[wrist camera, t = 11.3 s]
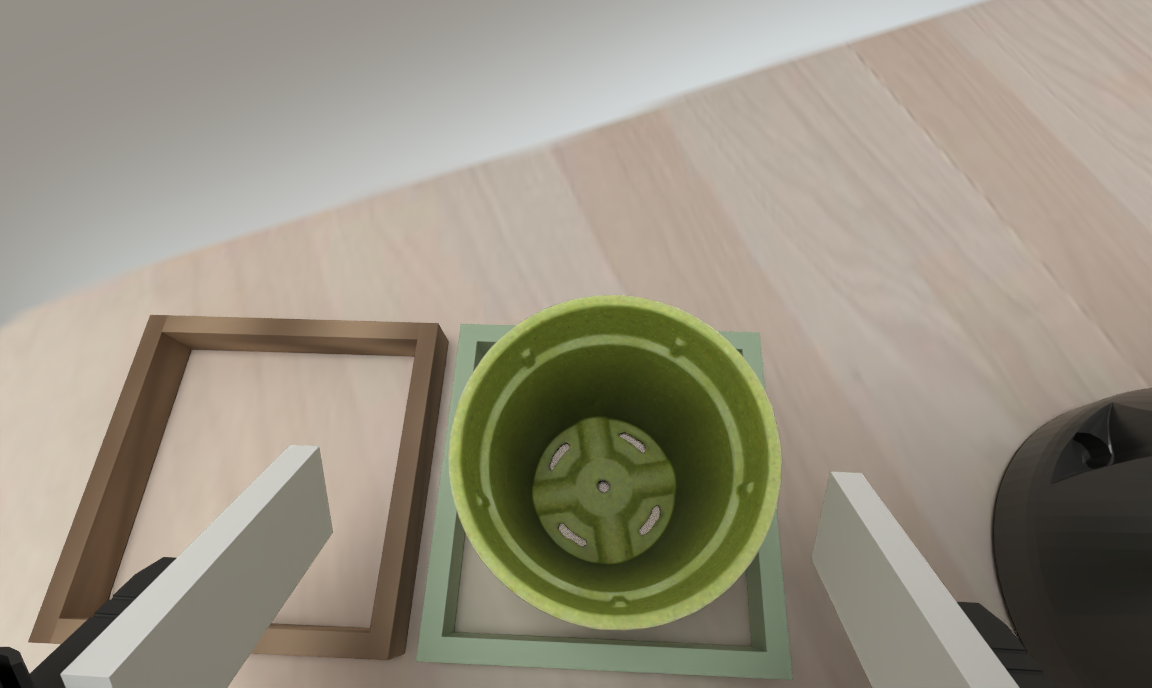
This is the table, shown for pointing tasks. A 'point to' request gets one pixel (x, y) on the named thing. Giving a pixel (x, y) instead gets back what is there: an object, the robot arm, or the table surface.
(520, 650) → the sage green collar
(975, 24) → the table surface
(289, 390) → the table surface
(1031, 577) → the robot arm
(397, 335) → the walnut collar
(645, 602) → the plant pot
